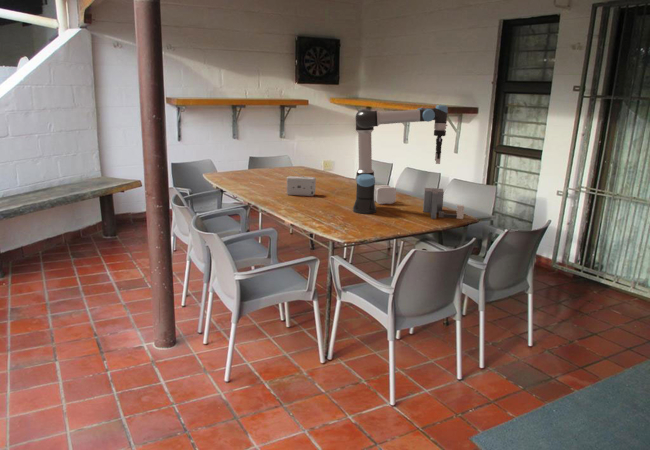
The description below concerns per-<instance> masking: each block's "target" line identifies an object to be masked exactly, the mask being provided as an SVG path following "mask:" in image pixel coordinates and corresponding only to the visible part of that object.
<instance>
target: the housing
mask: <svg viewBox="0 0 650 450" xmlns="http://www.w3.org/2000/svg"><path fill="white" fill-rule="evenodd" d="M423 190H424V191H423V204H422V210H423V213H430V219H433V220H436V219H437V214H439V211H440V212H443V205H444V195H445V194H444V193H445V191H444V189H443V188H437V187H436V188H434V187H424V189H423Z"/></svg>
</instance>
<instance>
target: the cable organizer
mask: <svg viewBox="0 0 650 450" xmlns="http://www.w3.org/2000/svg"><path fill="white" fill-rule="evenodd" d="M396 195H397V188H396V187H393V186H390V185H388V184H385V185H384V184H383V185H375V190H374V202H375V203H377V204H379V205H385V204H388V205H391V204H394V203H396V198H397V196H396Z"/></svg>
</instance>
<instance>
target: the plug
mask: <svg viewBox="0 0 650 450" xmlns="http://www.w3.org/2000/svg"><path fill="white" fill-rule="evenodd" d="M456 205H457V206H456V213H445V211H442V212H440V211H439V213H438V218H450V219H451V218H452V219H457V220H458V219H460V220H464V215H465V204H456Z"/></svg>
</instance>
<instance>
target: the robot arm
mask: <svg viewBox="0 0 650 450" xmlns="http://www.w3.org/2000/svg"><path fill="white" fill-rule="evenodd" d="M448 107H449V106H448V105H445V104H443V105H442V104H437V105H435V107H431V108H430V107H418V108H417V109H407V110H392V111H378V110H370V109H368V108H362V109H360V110H358V111H357V112H356V114H355V116H354V117H355V118H354V119H355V131H356V133H358V134H357V135H358V137H357V139H358V149H357V150H358V169H357V170H356V182H355V183H356V190H355V191H356V192H355V193H356V196H355V201H354V204H353V206H352V207H353V208H352V212H354V213H356V214H357V213H358V214H363V215H364V214H365V215H367V214H375V213H377V206H376V202H374V190H375V186H376V177H375V170H374V169H373V168H372V165H373V164H372V157H373V156H372V155H373V153H372V151H373V150H372V133H373V132H374V130H375V129H374V127H378V126H380V125H389V124H391V125H392V124H403V123H404V124H405V123H418V122H420V123H421V122H428V123H429V122H432V121H434V126H433V129H434V130H433V136H436V138H435V154H434V155H435V157H434V162H435V164H436V165H440V164H441V157H442V145H443V137H445V136H446V135H447V133H446V132H447V131H446V130H447V127H448V124H447V121H448V114H449V113H448V110H449V109H448Z"/></svg>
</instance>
